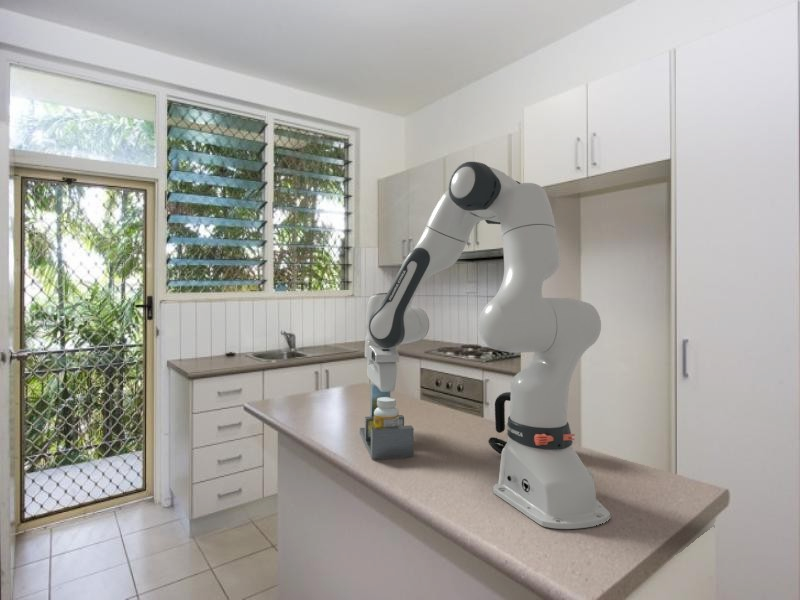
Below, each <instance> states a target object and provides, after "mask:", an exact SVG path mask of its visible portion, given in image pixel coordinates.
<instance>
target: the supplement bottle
mask: <svg viewBox="0 0 800 600" xmlns="http://www.w3.org/2000/svg"><path fill="white" fill-rule="evenodd" d="M377 406H378V408H376V409H375V411H374V428H375V427H392V426H399V415H400V411H399V410H398V408H396V406H397V399H396V398H394V397H391V396H390V397H381V398H378V399H377Z"/></svg>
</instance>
